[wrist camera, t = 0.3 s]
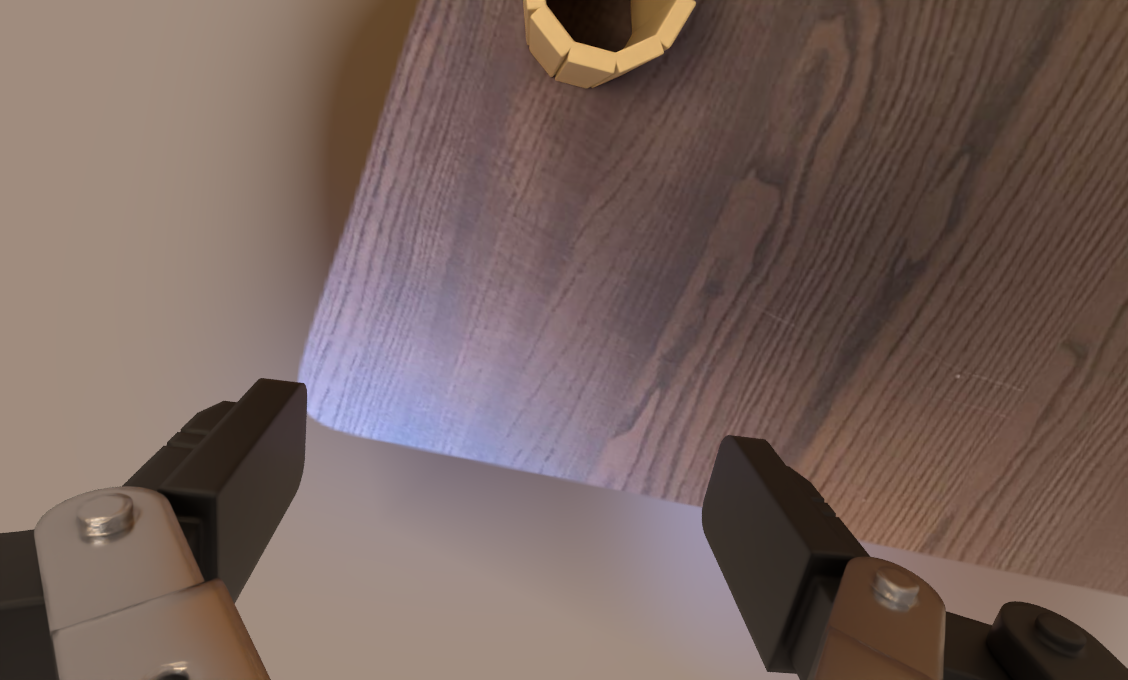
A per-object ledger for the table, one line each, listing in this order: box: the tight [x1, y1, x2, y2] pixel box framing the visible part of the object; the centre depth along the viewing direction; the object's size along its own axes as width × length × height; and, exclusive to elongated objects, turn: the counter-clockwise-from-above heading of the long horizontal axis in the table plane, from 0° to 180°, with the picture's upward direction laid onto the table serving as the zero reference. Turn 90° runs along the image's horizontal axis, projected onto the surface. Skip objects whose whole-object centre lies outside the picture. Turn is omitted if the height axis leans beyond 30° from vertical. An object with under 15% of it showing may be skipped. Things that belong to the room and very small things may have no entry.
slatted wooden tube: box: [523, 0, 696, 89], centre depth 23 cm, size 5×5×9 cm
